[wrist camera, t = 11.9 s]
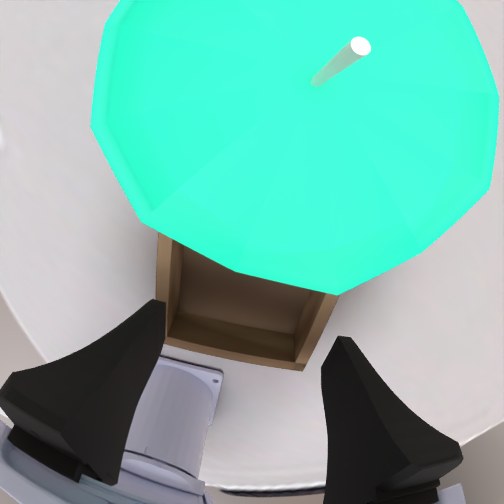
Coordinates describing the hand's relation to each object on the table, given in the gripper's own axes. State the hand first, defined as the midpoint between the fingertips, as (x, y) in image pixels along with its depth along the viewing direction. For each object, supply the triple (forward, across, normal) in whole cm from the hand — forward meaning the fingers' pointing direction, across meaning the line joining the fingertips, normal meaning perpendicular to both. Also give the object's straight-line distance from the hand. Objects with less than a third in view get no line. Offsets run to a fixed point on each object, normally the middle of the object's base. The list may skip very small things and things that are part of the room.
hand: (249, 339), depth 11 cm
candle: (+6, 0, -9) cm, 10 cm away
